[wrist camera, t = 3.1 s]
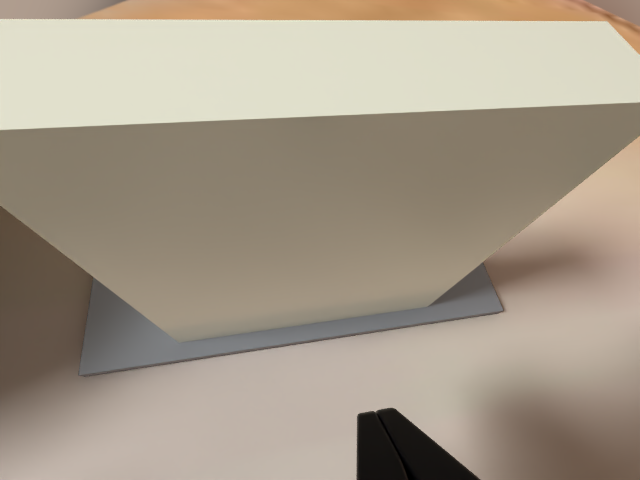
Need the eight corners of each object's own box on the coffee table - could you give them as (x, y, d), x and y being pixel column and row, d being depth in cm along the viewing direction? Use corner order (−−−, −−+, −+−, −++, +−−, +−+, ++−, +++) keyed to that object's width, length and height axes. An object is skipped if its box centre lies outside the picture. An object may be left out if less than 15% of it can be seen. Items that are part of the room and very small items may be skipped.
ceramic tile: (427, 306, 17) (683, 100, 6) (179, 342, 15) (-93, 134, 4) (412, 262, 18) (606, 21, 7) (180, 290, 16) (-31, 18, 5)
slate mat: (498, 313, 18) (503, 310, 17) (84, 376, 15) (78, 375, 14) (403, 86, 26) (405, 81, 26) (125, 95, 23) (122, 88, 22)
